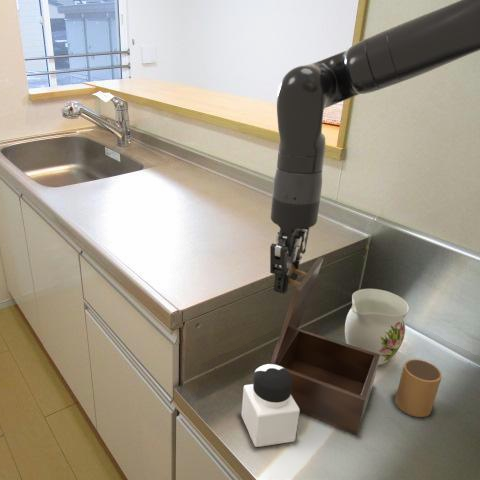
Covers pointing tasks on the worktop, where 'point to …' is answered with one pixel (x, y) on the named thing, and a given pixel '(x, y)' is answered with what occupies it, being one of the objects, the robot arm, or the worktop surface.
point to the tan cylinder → (418, 387)
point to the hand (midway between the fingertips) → (285, 284)
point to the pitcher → (376, 322)
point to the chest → (329, 378)
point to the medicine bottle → (270, 407)
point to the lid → (296, 306)
